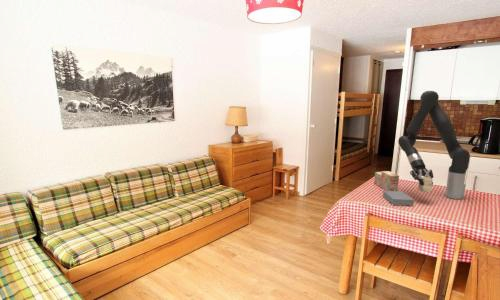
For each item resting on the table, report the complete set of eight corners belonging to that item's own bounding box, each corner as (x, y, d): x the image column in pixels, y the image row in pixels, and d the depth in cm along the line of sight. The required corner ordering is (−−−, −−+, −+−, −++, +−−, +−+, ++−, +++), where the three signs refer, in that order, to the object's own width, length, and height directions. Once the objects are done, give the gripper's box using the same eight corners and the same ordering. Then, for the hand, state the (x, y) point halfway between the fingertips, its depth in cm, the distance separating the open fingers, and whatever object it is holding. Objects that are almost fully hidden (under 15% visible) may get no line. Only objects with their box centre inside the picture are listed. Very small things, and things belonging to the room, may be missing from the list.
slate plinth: (401, 197, 184) (402, 191, 183) (413, 206, 168) (413, 199, 167) (382, 196, 185) (383, 190, 184) (392, 205, 169) (393, 199, 168)
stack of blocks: (373, 183, 214) (375, 168, 212) (381, 183, 215) (383, 168, 213) (388, 192, 193) (390, 175, 191) (397, 192, 194) (399, 175, 191)
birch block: (418, 189, 175) (419, 177, 173) (425, 189, 175) (426, 177, 174) (423, 191, 170) (424, 179, 168) (431, 191, 170) (432, 179, 169)
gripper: (408, 159, 176) (419, 182, 166) (429, 158, 177) (442, 181, 167) (402, 165, 182) (413, 188, 172) (423, 164, 183) (434, 187, 173)
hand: (427, 184), depth 170 cm, fingers closed on birch block, 5 cm apart
